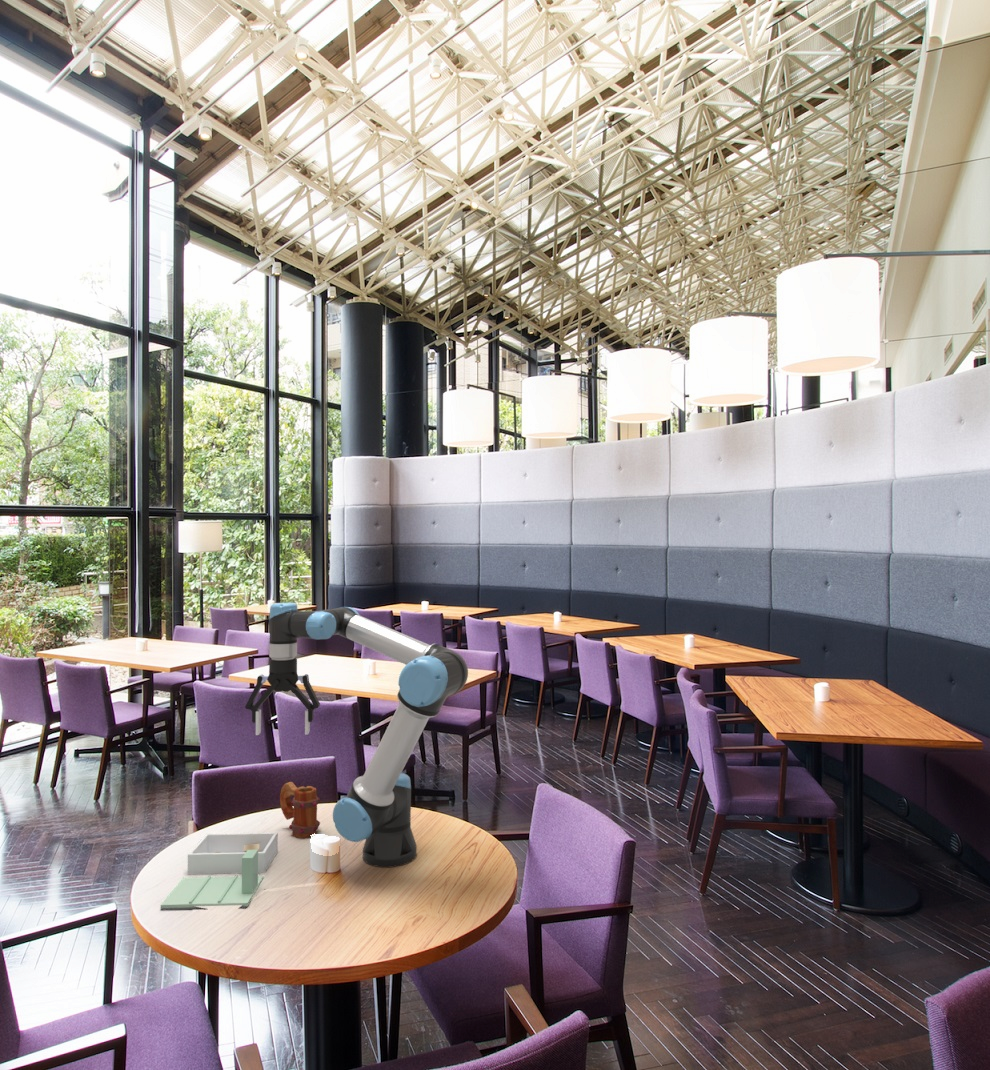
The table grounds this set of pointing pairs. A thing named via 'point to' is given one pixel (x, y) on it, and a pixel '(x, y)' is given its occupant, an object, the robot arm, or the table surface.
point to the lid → (218, 887)
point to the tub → (230, 852)
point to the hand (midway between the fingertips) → (282, 733)
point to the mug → (300, 809)
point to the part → (251, 847)
